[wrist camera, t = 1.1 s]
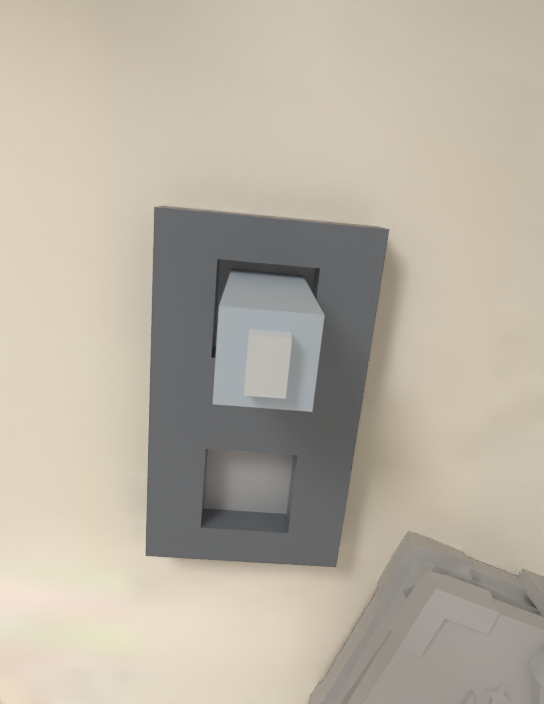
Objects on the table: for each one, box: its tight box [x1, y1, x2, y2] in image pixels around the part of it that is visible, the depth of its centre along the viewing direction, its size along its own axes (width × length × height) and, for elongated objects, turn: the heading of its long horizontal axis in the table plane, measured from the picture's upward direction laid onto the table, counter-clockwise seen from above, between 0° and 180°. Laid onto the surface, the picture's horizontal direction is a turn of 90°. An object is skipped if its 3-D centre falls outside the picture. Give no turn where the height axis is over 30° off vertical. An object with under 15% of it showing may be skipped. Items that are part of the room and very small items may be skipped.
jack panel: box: [146, 206, 389, 567], centre depth 30 cm, size 21×12×2 cm, turn 175°
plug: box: [213, 268, 325, 412], centre depth 24 cm, size 4×4×11 cm
